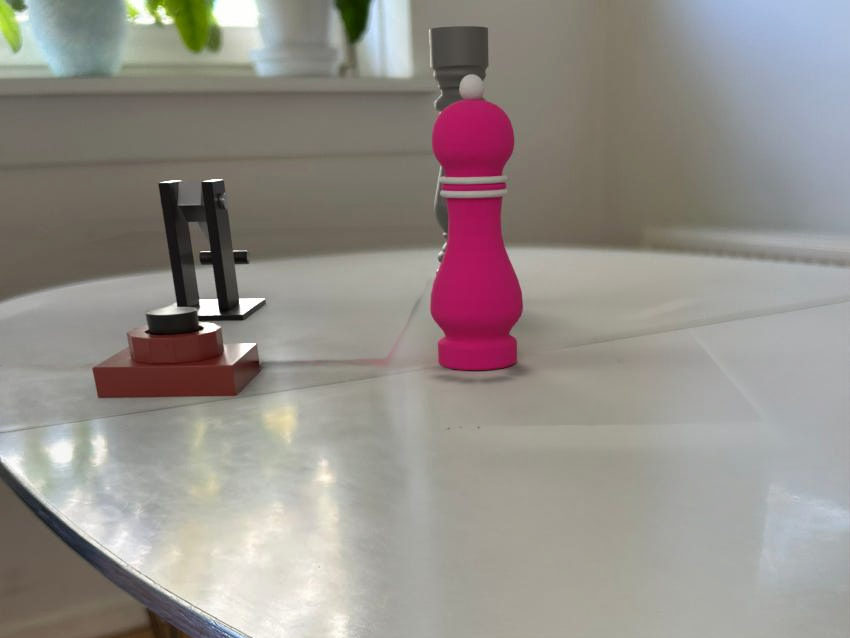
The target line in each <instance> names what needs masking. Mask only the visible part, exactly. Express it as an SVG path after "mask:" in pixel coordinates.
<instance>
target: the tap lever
mask: <svg viewBox="0 0 850 638" xmlns="http://www.w3.org/2000/svg"><path fill="white" fill-rule="evenodd" d="M201 182H203V181H201V180H199V181H182V182H179V189H178V207H179V208H180V210H181V212H182V214H183V215H184V217H185V219H186V221H187V222H188V223H197V225H198V227H199V228H200V230H201V231H202V233H203V235H204V237H205V239H206V241H207V242H208V244H209V245H210V242H209V235H208V227H207V220H206V213H205V205H204V198H203V191H202V183H201ZM233 255H234V263H235V265H249V264H250V263H251V255H250V251H249V250H233ZM198 258H199V263H200V265H201V266H213V264H212V257H211V250H210V251H209V250H208V251H203V250H202V251H200V252H199V255H198Z"/></svg>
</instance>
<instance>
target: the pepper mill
mask: <svg viewBox="0 0 850 638" xmlns="http://www.w3.org/2000/svg"><path fill="white" fill-rule="evenodd" d="M459 91H460V94H461V96H462V98H463V99H464V100H462V101H458V102H455V103H453V104H451V105H449V106H448V107H446V108H445V109H444V110H443V111H442V112H441V113H440V112H439V114H438V115H437V117H436V119H435V121H434V124H433V126H432V130H431V150H432V153H433V156H434V157H435V159H436V160H437V162H438V163H439V165H441V166H442V167H443V169H444V172H445V176H442V177H441V178H440V182H441V183H442V184H443V185H442V187H441V188H442V191H441V192H440V195H441V196H442V197H446V202H447V209H448V216H449V222H448V239H447V245H446V250H445V253H444V256H443V259H442V262H441V263H440V264H439V267H438V269H439V270H438V272H437V275H436V274H435V277H434V280H433V283H432V287H431V292H430V304H429V305H430V306H429V310H430V316H431V318H432V319H433V321H434V323H436V324H437V326H438V327H439V328H440V329H441V330H442V332H443V333H444V336H443V337H441V338H439V340H438V341H437V355H438V357H437V359H438V363H439V365H440V366H441V367H443V368H447V369H450V370H455V371H490V370H491V371H493V370H498V369H504V368H505V369H506V368H508V367H511V366H513V365H514V364H516V362H517V361H518V340H517V338H516V337H514V336H513V335H510V333H511V331H512V330H513V328H514V327H515V325H516V324H517V322H518V321H519V320H520V318H521V316H522V315H523V311H524V303H523V301H524V300H523V292H522V288H521V285H520V281H519V278H518V276H517V273H516V271H515V269H514V267H513V264H512V261H511V260H510V257H509V255H508V252H507V249H506V247H505V242H504V237H503V234H502V217H501V216H502V206H503V197H505V196H507V195H508V194H509V190H508V189H507V183H506V182H508V181H509V180H508V179H509V178H508V175H506V174H503V171H504V168H505V166H506V164H507V163H508V161H510V158H511V157H512V155H513V154H514V150H515V134H514V128H513V124H512V122H511V121H512V120H510V118H509V116H508V114H507V113H506V111H504V110H503V109H502V108H501V107H500V106H499V105H497V104H495V103H493V102H491V101H488V100H486V101H484V100H480V99H481V98H482V97H484V96H483V95H484V93H485V84H484V80H483V81H482V80H481V78H480V77H478V76H477V75H474V74H470V75H467V76H465V77H464V78H463V79H462V81H461V83H460V87H459Z"/></svg>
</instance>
